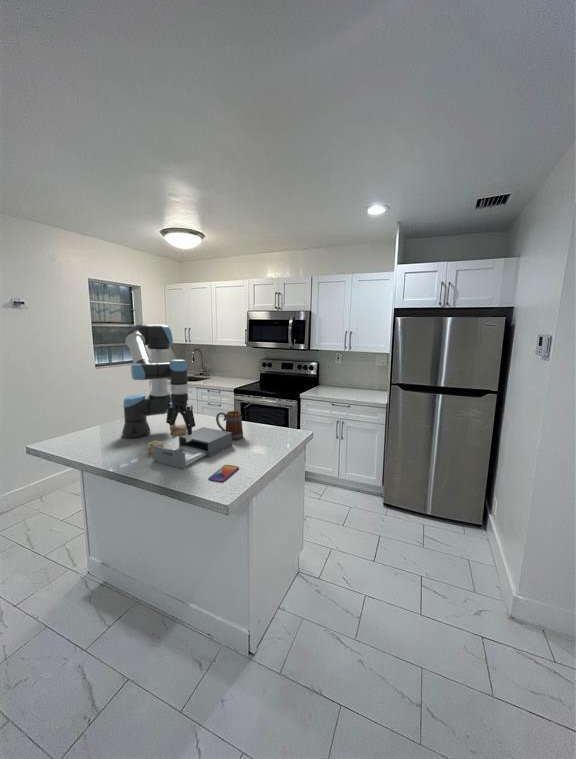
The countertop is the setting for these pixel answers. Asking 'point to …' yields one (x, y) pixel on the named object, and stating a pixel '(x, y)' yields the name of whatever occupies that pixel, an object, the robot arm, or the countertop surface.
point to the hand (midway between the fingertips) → (181, 439)
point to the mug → (232, 423)
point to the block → (151, 444)
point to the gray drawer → (177, 455)
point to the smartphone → (223, 473)
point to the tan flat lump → (178, 430)
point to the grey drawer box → (208, 440)
